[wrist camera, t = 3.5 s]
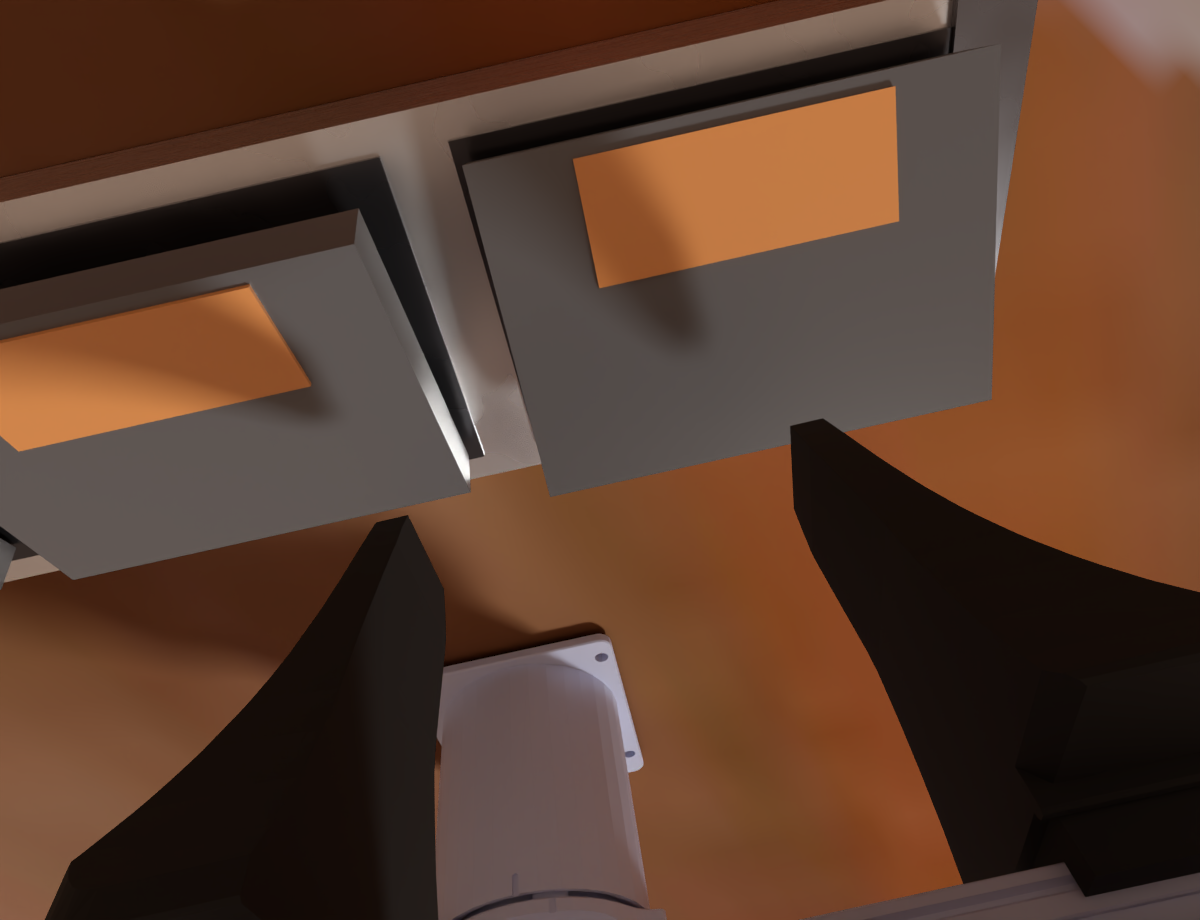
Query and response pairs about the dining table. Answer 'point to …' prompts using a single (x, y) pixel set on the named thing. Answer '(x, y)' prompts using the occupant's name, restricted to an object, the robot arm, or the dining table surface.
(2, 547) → the panel
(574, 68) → the grey switch panel
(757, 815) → the dining table surface
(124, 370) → the rocker
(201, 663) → the dining table surface
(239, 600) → the dining table surface
